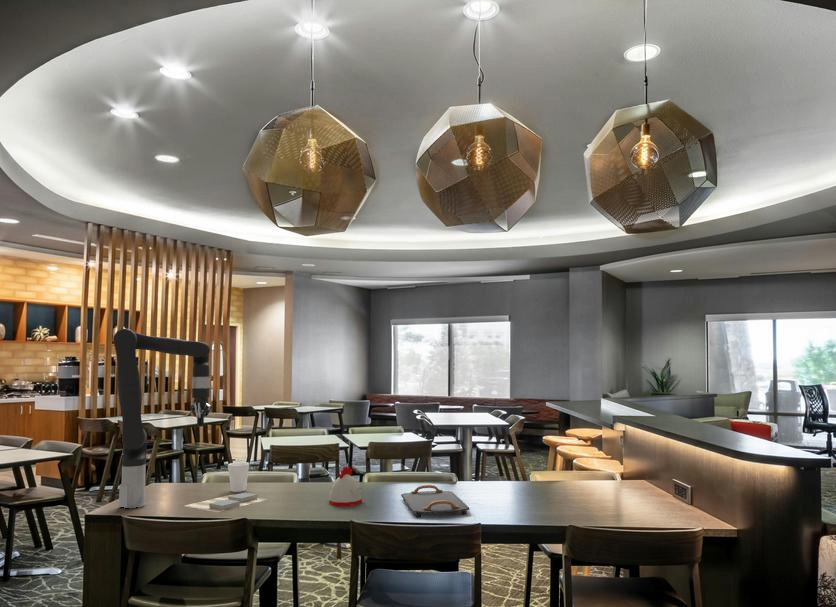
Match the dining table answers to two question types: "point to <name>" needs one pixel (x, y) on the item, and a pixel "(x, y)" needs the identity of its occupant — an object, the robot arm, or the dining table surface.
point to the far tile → (243, 497)
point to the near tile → (224, 504)
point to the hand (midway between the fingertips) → (200, 426)
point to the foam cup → (238, 476)
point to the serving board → (433, 501)
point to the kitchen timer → (345, 490)
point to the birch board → (205, 504)
